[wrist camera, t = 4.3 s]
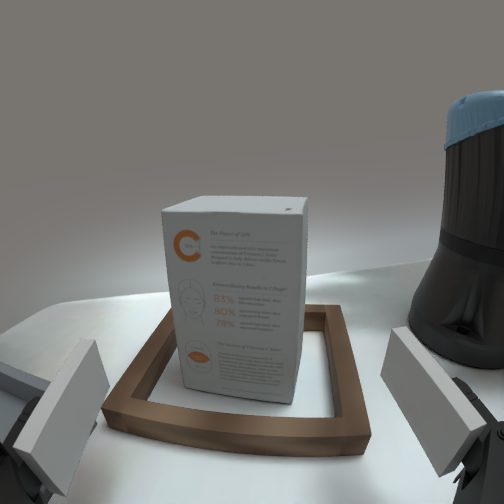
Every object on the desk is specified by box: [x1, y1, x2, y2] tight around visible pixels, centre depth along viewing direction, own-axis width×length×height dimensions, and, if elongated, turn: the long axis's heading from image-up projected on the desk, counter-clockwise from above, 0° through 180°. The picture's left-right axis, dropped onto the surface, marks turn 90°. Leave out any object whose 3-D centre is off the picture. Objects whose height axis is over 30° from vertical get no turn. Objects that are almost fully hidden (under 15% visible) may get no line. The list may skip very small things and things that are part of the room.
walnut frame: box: [101, 304, 372, 456], centre depth 23 cm, size 16×16×2 cm
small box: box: [161, 196, 308, 404], centre depth 21 cm, size 8×6×13 cm
